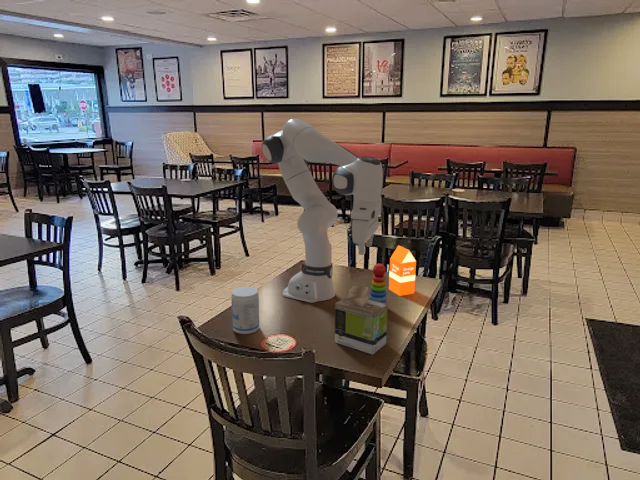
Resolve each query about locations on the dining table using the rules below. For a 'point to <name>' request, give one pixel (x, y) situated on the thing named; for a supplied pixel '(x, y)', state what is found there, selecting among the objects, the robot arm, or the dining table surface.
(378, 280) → the stacking toy
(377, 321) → the tea box
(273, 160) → the robot arm
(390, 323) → the dining table surface
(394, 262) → the orange juice
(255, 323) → the supplement tub
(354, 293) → the birch cube
